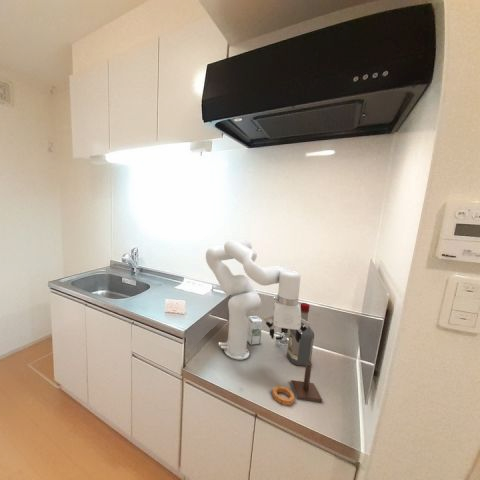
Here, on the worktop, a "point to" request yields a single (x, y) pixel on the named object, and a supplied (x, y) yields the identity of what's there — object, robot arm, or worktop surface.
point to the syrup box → (254, 330)
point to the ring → (280, 399)
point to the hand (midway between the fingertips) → (284, 338)
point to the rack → (306, 387)
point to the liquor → (301, 342)
